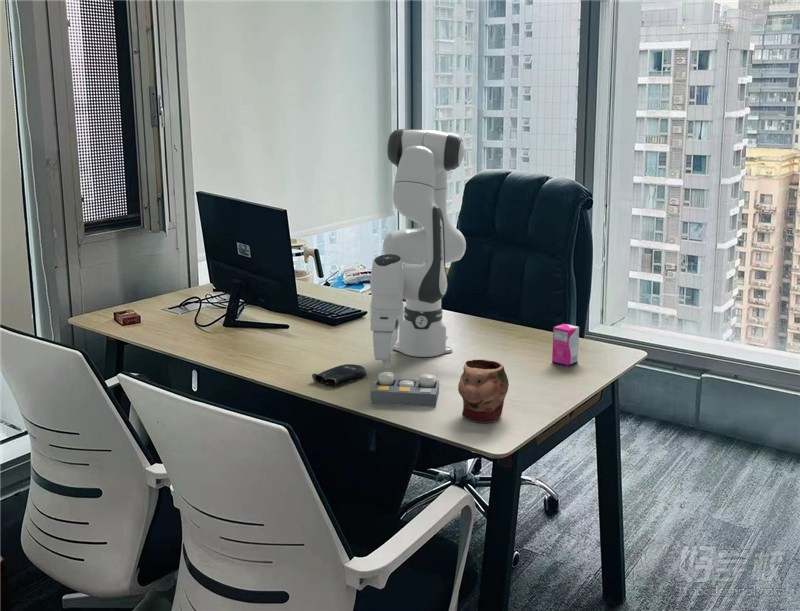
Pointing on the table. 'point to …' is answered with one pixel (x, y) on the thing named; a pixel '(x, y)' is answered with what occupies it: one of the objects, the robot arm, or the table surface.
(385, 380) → the end button
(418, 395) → the button panel
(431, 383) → the button
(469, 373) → the character mug
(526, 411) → the table surface
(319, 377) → the electronic device
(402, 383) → the middle button
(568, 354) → the supplement box
